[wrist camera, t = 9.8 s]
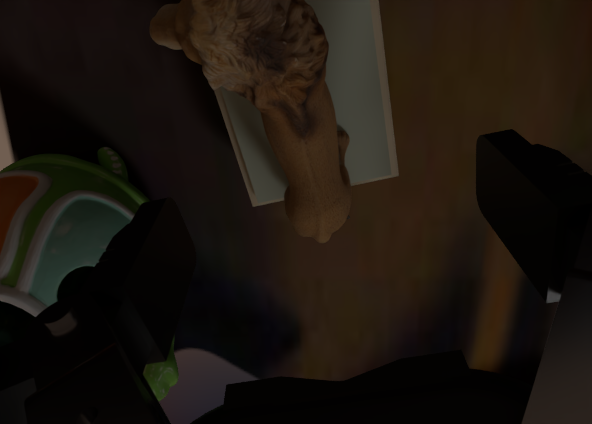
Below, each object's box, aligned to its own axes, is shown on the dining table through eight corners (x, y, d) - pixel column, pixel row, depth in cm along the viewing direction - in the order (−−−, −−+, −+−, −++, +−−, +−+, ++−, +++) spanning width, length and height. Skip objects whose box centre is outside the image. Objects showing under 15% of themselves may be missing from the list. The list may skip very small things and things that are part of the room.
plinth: (352, -78, 23) (371, -85, 18) (382, 143, 29) (401, 180, 25) (193, -34, 24) (171, -29, 19) (257, 170, 30) (252, 211, 25)
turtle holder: (128, 336, 39) (73, 472, 29) (-34, 183, 30) (-194, 299, 20) (243, 289, 36) (227, 420, 26) (101, 105, 28) (-6, 194, 17)
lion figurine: (175, -14, 19) (101, 10, 11) (280, -74, 18) (276, -92, 10) (308, 228, 26) (318, 342, 19) (389, 195, 25) (435, 302, 17)
